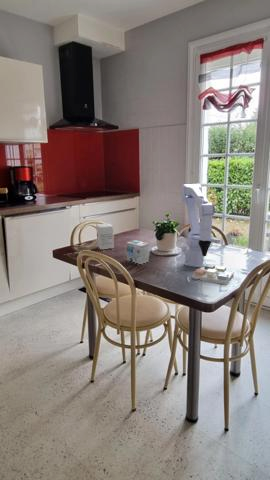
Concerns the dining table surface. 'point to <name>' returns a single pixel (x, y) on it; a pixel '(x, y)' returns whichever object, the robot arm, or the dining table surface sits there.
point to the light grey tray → (213, 277)
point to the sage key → (221, 268)
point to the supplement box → (105, 236)
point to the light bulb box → (138, 252)
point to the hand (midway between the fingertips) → (204, 255)
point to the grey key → (209, 266)
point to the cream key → (211, 271)
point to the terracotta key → (199, 272)
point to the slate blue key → (222, 276)
